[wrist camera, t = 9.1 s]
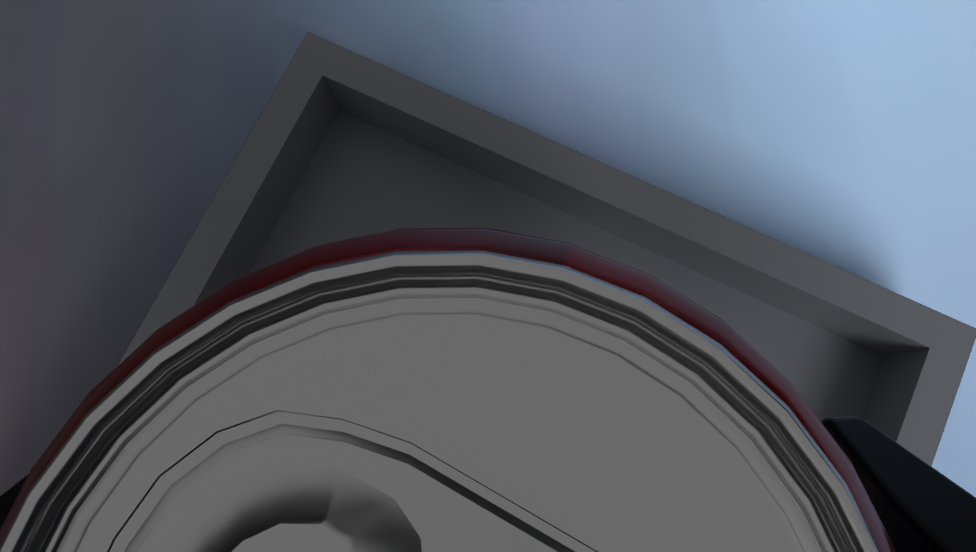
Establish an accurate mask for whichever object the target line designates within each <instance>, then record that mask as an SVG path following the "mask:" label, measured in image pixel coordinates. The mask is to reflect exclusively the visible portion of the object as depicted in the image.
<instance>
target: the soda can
mask: <svg viewBox="0 0 976 552" xmlns="http://www.w3.org/2000/svg"><path fill="white" fill-rule="evenodd" d="M0 552H897V551H896V549H895V547H894V545H893V543H892V541H891V539H890V537H889V535H888V534H887V532H886V530H885V528H884V526H883V524H882V522H881V520H880V518H879V516H878V514H877V512H876V510H875V508H874V506H873V504H872V502H871V500H870V498H869V496H868V494H867V492H866V490H865V488H864V486H863V484H862V482H861V480H860V479H859V477H858V475H857V473H856V471H855V469H854V467H853V465H852V463H851V461H850V460H849V458H848V457H847V456H846V454H845V453H844V452H843V450H842V449H841V448H840V446H839V445H838V444H837V442H836V441H835V440H834V438H833V437H832V436H831V434H830V433H829V432H828V430H827V429H826V428H825V427H824V425H823V424H822V423H821V421H820V420H819V419H818V417H817V416H816V415H815V413H814V412H813V411H812V409H811V408H810V407H809V405H808V404H807V403H806V401H805V400H804V399H803V398H802V396H801V395H800V394H799V392H798V391H797V390H796V388H795V387H794V386H793V384H792V383H791V382H790V381H789V380H788V379H787V378H786V377H785V376H784V375H783V374H782V373H781V372H779V371H778V370H777V369H776V368H775V367H774V366H773V365H772V364H771V363H770V362H769V361H767V360H766V359H765V358H764V357H763V356H762V355H761V354H760V353H759V352H758V351H756V350H755V349H754V348H753V347H752V346H751V345H750V344H749V343H748V342H747V341H746V340H744V339H743V338H742V337H741V336H740V335H739V334H738V333H737V332H736V331H735V330H734V329H732V328H731V327H730V326H729V325H728V324H727V323H726V322H725V321H724V320H722V319H721V318H719V317H717V316H716V315H714V314H713V313H711V312H709V311H708V310H706V309H705V308H703V307H701V306H700V305H698V304H697V303H695V302H693V301H692V300H690V299H689V298H687V297H685V296H684V295H682V294H680V293H679V292H677V291H676V290H674V289H672V288H671V287H669V286H668V285H666V284H664V283H663V282H661V281H660V280H658V279H656V278H655V277H653V276H652V275H650V274H648V273H646V272H643V271H640V270H638V269H635V268H633V267H630V266H627V265H625V264H622V263H620V262H617V261H615V260H612V259H609V258H607V257H604V256H602V255H599V254H596V253H594V252H591V251H589V250H586V249H584V248H581V247H578V246H576V245H573V244H571V243H567V242H562V241H556V240H551V239H545V238H540V237H534V236H529V235H523V234H518V233H512V232H507V231H501V230H496V229H490V228H401V229H396V230H391V231H386V232H381V233H376V234H371V235H366V236H361V237H356V238H351V239H346V240H341V241H336V242H331V243H326V244H321V245H317V246H315V247H312V248H310V249H307V250H305V251H302V252H300V253H297V254H295V255H292V256H290V257H287V258H285V259H283V260H280V261H278V262H275V263H273V264H270V265H268V266H265V267H263V268H260V269H258V270H255V271H253V272H251V273H248V274H246V275H243V276H241V277H238V278H236V279H235V280H233V281H232V282H230V283H229V284H227V285H225V286H224V287H222V288H221V289H219V290H218V291H216V292H215V293H213V294H211V295H210V296H208V297H207V298H205V299H204V300H202V301H200V302H199V303H197V304H196V305H194V306H193V307H191V308H189V309H188V310H186V311H185V312H183V313H182V314H180V315H179V316H177V317H175V318H174V319H172V320H171V321H169V322H168V323H166V324H164V325H163V326H162V327H160V328H159V329H157V330H156V331H155V332H154V333H153V334H152V335H151V336H150V337H149V338H148V339H147V340H145V341H144V342H143V343H142V344H141V345H140V346H139V347H138V348H137V349H136V350H135V351H134V352H133V353H131V354H130V355H129V356H128V357H127V358H126V359H125V360H124V361H123V362H122V363H121V364H120V365H119V366H117V367H116V368H115V369H114V370H113V371H112V372H111V373H110V374H109V375H108V376H107V377H106V378H105V379H103V380H102V381H101V382H100V383H99V384H98V385H97V386H96V387H95V388H94V389H93V390H92V391H91V392H89V394H88V395H87V396H86V398H85V399H84V400H83V402H82V403H81V404H80V406H79V407H78V408H77V410H76V411H75V412H74V414H73V415H72V416H71V417H70V419H69V420H68V421H67V423H66V424H65V425H64V427H63V428H62V429H61V431H60V432H59V433H58V435H57V436H56V437H55V439H54V440H53V441H52V443H51V444H50V445H49V447H48V448H47V449H46V451H45V452H44V453H43V455H42V456H41V457H40V459H39V460H38V461H37V463H36V464H35V465H34V467H33V468H32V469H31V471H30V473H29V475H28V477H27V479H26V481H25V482H24V484H23V486H22V488H21V490H20V492H19V494H18V496H17V498H16V500H15V502H14V504H13V506H12V508H11V510H10V512H9V514H8V516H7V518H6V520H5V522H4V524H3V526H2V528H1V530H0Z"/></svg>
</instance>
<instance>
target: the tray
mask: <svg viewBox="0 0 976 552" xmlns="http://www.w3.org/2000/svg"><path fill="white" fill-rule="evenodd" d="M401 228H490V229H496V230H501V231H507V232H512V233H518V234H523V235H529V236H534V237H540V238H545V239H551V240H556V241H562V242H567V243H571V244H573V245H576V246H578V247H581V248H584V249H586V250H589V251H591V252H594V253H596V254H599V255H602V256H604V257H607V258H609V259H612V260H615V261H617V262H620V263H622V264H625V265H627V266H630V267H633V268H635V269H638V270H640V271H643V272H646V273H648V274H650V275H652V276H653V277H655V278H656V279H658V280H660V281H661V282H663V283H664V284H666V285H668V286H669V287H671V288H672V289H674V290H676V291H677V292H679V293H680V294H682V295H684V296H685V297H687V298H689V299H690V300H692V301H693V302H695V303H697V304H698V305H700V306H701V307H703V308H705V309H706V310H708V311H709V312H711V313H713V314H714V315H716V316H717V317H719V318H721V319H722V320H724V321H725V322H726V323H727V324H728V325H729V326H730V327H731V328H732V329H734V330H735V331H736V332H737V333H738V334H739V335H740V336H741V337H742V338H743V339H744V340H746V341H747V342H748V343H749V344H750V345H751V346H752V347H753V348H754V349H755V350H756V351H758V352H759V353H760V354H761V355H762V356H763V357H764V358H765V359H766V360H767V361H769V362H770V363H771V364H772V365H773V366H774V367H775V368H776V369H777V370H778V371H779V372H781V373H782V374H783V375H784V376H785V377H786V378H787V379H788V380H789V381H790V382H791V383H792V384H793V386H794V387H795V388H796V390H797V391H798V392H799V394H800V395H801V396H802V398H803V399H804V400H805V401H806V403H807V404H808V405H809V407H810V408H811V409H812V411H813V412H814V413H815V415H816V416H817V417H818V419H819V420H820V421H822V420H823V419H824V418H827V417H840V416H857V417H860V418H862V419H864V420H865V421H867V422H868V423H870V424H871V425H872V426H874V427H875V428H877V429H878V430H880V431H881V432H882V433H884V434H885V435H887V436H888V437H890V438H891V439H892V440H894V441H895V442H897V443H898V444H900V445H901V446H902V447H904V448H905V449H907V450H908V451H910V452H911V453H913V454H914V455H915V456H917V457H918V458H920V459H921V460H923V461H924V462H925V463H927V464H928V465H930V466H932V463H933V460H934V457H935V454H936V451H937V448H938V445H939V442H940V440H941V437H942V434H943V431H944V428H945V425H946V422H947V419H948V416H949V414H950V411H951V408H952V405H953V402H954V399H955V396H956V393H957V391H958V388H959V385H960V382H961V379H962V376H963V373H964V370H965V367H966V365H967V362H968V359H969V356H970V353H971V350H972V347H973V344H974V341H975V339H976V328H974V327H971V326H969V325H967V324H965V323H962V322H960V321H958V320H956V319H953V318H951V317H949V316H947V315H944V314H942V313H940V312H938V311H935V310H933V309H931V308H929V307H926V306H924V305H922V304H920V303H917V302H915V301H913V300H911V299H908V298H906V297H904V296H902V295H899V294H897V293H895V292H893V291H890V290H888V289H886V288H884V287H881V286H879V285H877V284H875V283H872V282H870V281H868V280H866V279H863V278H861V277H859V276H856V275H854V274H852V273H850V272H847V271H845V270H843V269H841V268H838V267H836V266H834V265H832V264H829V263H827V262H825V261H823V260H820V259H818V258H816V257H814V256H811V255H809V254H807V253H805V252H802V251H800V250H798V249H796V248H793V247H791V246H789V245H787V244H784V243H782V242H780V241H778V240H775V239H773V238H771V237H769V236H766V235H764V234H762V233H760V232H757V231H755V230H753V229H751V228H748V227H746V226H744V225H742V224H739V223H737V222H735V221H733V220H730V219H728V218H726V217H724V216H721V215H719V214H717V213H715V212H712V211H710V210H708V209H705V208H703V207H701V206H699V205H696V204H694V203H692V202H690V201H687V200H685V199H683V198H681V197H678V196H676V195H674V194H672V193H669V192H667V191H665V190H663V189H660V188H658V187H656V186H654V185H651V184H649V183H647V182H645V181H642V180H640V179H638V178H636V177H633V176H631V175H629V174H627V173H624V172H622V171H620V170H618V169H615V168H613V167H611V166H609V165H606V164H604V163H602V162H600V161H597V160H595V159H593V158H591V157H588V156H586V155H584V154H582V153H579V152H577V151H575V150H573V149H570V148H568V147H566V146H563V145H561V144H559V143H557V142H554V141H552V140H550V139H548V138H545V137H543V136H541V135H539V134H536V133H534V132H532V131H530V130H527V129H525V128H523V127H521V126H518V125H516V124H514V123H512V122H509V121H507V120H505V119H503V118H500V117H498V116H496V115H494V114H491V113H489V112H487V111H485V110H482V109H480V108H478V107H476V106H473V105H471V104H469V103H467V102H464V101H462V100H460V99H458V98H455V97H453V96H451V95H449V94H446V93H444V92H442V91H440V90H437V89H435V88H433V87H431V86H428V85H426V84H424V83H421V82H419V81H417V80H415V79H412V78H410V77H408V76H406V75H403V74H401V73H399V72H397V71H394V70H392V69H390V68H388V67H385V66H383V65H381V64H379V63H376V62H374V61H372V60H370V59H367V58H365V57H363V56H361V55H358V54H356V53H354V52H352V51H349V50H347V49H345V48H343V47H340V46H338V45H336V44H334V43H331V42H329V41H327V40H325V39H322V38H320V37H318V36H316V35H313V34H311V33H309V32H308V33H307V35H306V36H305V38H304V40H303V42H302V43H301V45H300V47H299V49H298V50H297V52H296V54H295V56H294V57H293V59H292V61H291V63H290V65H289V66H288V68H287V70H286V72H285V73H284V75H283V77H282V79H281V80H280V82H279V84H278V86H277V87H276V89H275V91H274V93H273V94H272V96H271V98H270V100H269V101H268V103H267V105H266V107H265V108H264V110H263V112H262V114H261V115H260V117H259V119H258V121H257V122H256V124H255V126H254V128H253V129H252V131H251V133H250V135H249V136H248V138H247V140H246V142H245V143H244V145H243V147H242V149H241V150H240V152H239V154H238V156H237V157H236V159H235V161H234V163H233V164H232V166H231V168H230V170H229V171H228V173H227V175H226V177H225V178H224V180H223V182H222V184H221V185H220V187H219V189H218V191H217V192H216V194H215V196H214V198H213V199H212V201H211V203H210V205H209V206H208V208H207V210H206V212H205V213H204V215H203V217H202V219H201V221H200V222H199V224H198V226H197V228H196V229H195V231H194V233H193V235H192V236H191V238H190V240H189V242H188V243H187V245H186V247H185V249H184V250H183V252H182V254H181V256H180V257H179V259H178V261H177V263H176V264H175V266H174V268H173V270H172V271H171V273H170V275H169V277H168V278H167V280H166V282H165V284H164V285H163V287H162V289H161V291H160V292H159V294H158V296H157V298H156V299H155V301H154V303H153V305H152V306H151V308H150V310H149V312H148V313H147V315H146V317H145V319H144V320H143V322H142V324H141V326H140V327H139V329H138V331H137V333H136V334H135V336H134V338H133V340H132V341H131V343H130V345H129V347H128V348H127V350H126V352H125V354H124V355H123V357H122V359H121V361H120V362H119V364H118V366H119V365H120V364H121V363H122V362H123V361H124V360H125V359H126V358H127V357H128V356H129V355H130V354H131V353H133V352H134V351H135V350H136V349H137V348H138V347H139V346H140V345H141V344H142V343H143V342H144V341H145V340H147V339H148V338H149V337H150V336H151V335H152V334H153V333H154V332H155V331H156V330H157V329H159V328H160V327H162V326H163V325H164V324H166V323H168V322H169V321H171V320H172V319H174V318H175V317H177V316H179V315H180V314H182V313H183V312H185V311H186V310H188V309H189V308H191V307H193V306H194V305H196V304H197V303H199V302H200V301H202V300H204V299H205V298H207V297H208V296H210V295H211V294H213V293H215V292H216V291H218V290H219V289H221V288H222V287H224V286H225V285H227V284H229V283H230V282H232V281H233V280H235V279H236V278H238V277H241V276H243V275H246V274H248V273H251V272H253V271H255V270H258V269H260V268H263V267H265V266H268V265H270V264H273V263H275V262H278V261H280V260H283V259H285V258H287V257H290V256H292V255H295V254H297V253H300V252H302V251H305V250H307V249H310V248H312V247H315V246H317V245H321V244H326V243H331V242H336V241H341V240H346V239H351V238H356V237H361V236H366V235H371V234H376V233H381V232H386V231H391V230H396V229H401Z"/></svg>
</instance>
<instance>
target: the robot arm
mask: <svg viewBox="0 0 976 552" xmlns="http://www.w3.org/2000/svg"><path fill="white" fill-rule="evenodd" d="M821 423H822V424H823V425H824V427H825V428H826V429H827V430H828V432H829V433H830V434H831V436H832V437H833V438H834V440H835V441H836V442H837V444H838V445H839V446H840V448H841V449H842V450H843V452H844V453H845V454H846V456H847V457H848V458H849V460H850V461H851V463H852V465H853V467H854V469H855V471H856V473H857V475H858V477H859V479H860V480H861V482H862V484H863V486H864V488H865V490H866V492H867V494H868V496H869V498H870V500H871V502H872V504H873V506H874V508H875V510H876V512H877V514H878V516H879V518H880V520H881V522H882V524H883V526H884V528H885V530H886V532H887V534H888V535H889V537H890V539H891V541H892V543H893V545H894V547H895V549H896V551H897V552H976V498H975V497H974V496H973V495H971V494H970V493H968V492H967V491H965V490H964V489H963V488H961V487H960V486H958V485H957V484H955V483H954V482H953V481H951V480H950V479H948V478H947V477H945V476H944V475H943V474H941V473H940V472H938V471H937V470H935V469H934V468H933V467H931V466H930V465H928V464H927V463H925V462H924V461H923V460H921V459H920V458H918V457H917V456H915V455H914V454H913V453H911V452H910V451H908V450H907V449H905V448H904V447H902V446H901V445H900V444H898V443H897V442H895V441H894V440H892V439H891V438H890V437H888V436H887V435H885V434H884V433H882V432H881V431H880V430H878V429H877V428H875V427H874V426H872V425H871V424H870V423H868V422H867V421H865V420H864V419H862V418H860V417H857V416H840V417H827V418H824V419H823V420H822V421H821ZM28 475H29V474H28ZM28 475H27V476H25V477H24V478H23V479H22V480H20V481H19V482H18V483H17V484H15V485H14V486H13V487H12V488H10V489H9V490H8V491H6V492H5V493H4V494H3V495H1V496H0V530H1V528H2V526H3V524H4V522H5V520H6V518H7V516H8V514H9V512H10V510H11V508H12V506H13V504H14V502H15V500H16V498H17V496H18V494H19V492H20V490H21V488H22V486H23V484H24V482H25V481H26V479H27V477H28Z"/></svg>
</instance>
